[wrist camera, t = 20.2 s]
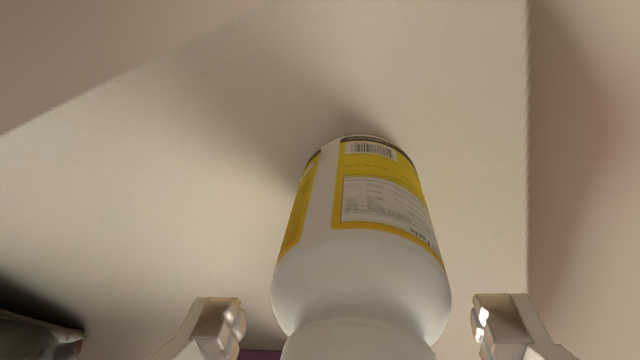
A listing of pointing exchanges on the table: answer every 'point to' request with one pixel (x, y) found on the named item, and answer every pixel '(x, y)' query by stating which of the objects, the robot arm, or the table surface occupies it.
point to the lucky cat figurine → (37, 339)
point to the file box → (259, 355)
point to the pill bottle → (360, 259)
